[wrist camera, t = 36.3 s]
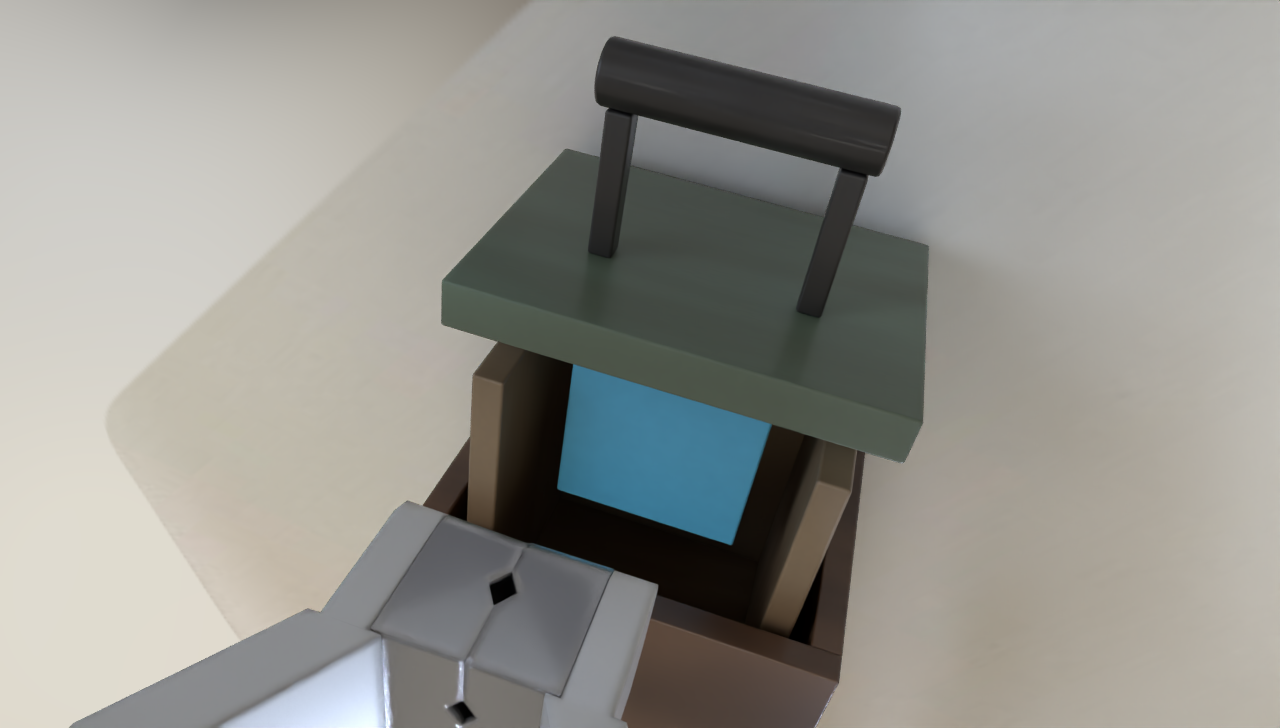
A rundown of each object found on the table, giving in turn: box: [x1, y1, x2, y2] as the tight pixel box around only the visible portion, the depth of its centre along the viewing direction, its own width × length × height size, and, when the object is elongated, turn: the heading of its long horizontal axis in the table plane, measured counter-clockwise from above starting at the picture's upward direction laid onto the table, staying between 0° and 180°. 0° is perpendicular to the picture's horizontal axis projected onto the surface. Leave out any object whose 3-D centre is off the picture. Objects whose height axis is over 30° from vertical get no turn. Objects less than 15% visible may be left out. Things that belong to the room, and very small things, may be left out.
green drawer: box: [441, 36, 929, 639], centre depth 23 cm, size 18×10×8 cm, turn 171°
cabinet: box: [423, 437, 865, 728], centre depth 30 cm, size 15×12×10 cm
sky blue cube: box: [557, 364, 772, 545], centre depth 24 cm, size 5×5×5 cm
